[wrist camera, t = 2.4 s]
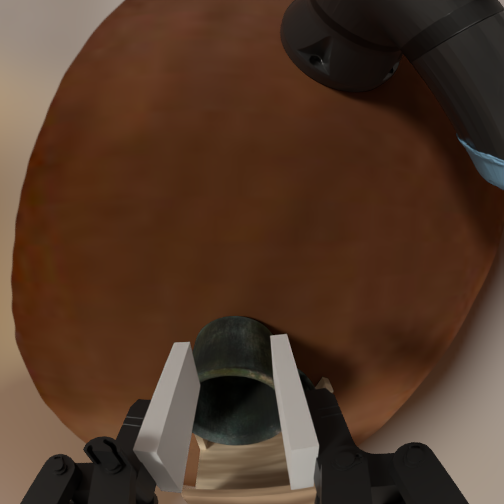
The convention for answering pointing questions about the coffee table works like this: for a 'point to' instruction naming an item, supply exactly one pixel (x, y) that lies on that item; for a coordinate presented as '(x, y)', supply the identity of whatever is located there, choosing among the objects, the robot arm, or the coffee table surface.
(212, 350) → the mug
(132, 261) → the coffee table surface
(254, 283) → the coffee table surface
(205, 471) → the wooden u-frame
